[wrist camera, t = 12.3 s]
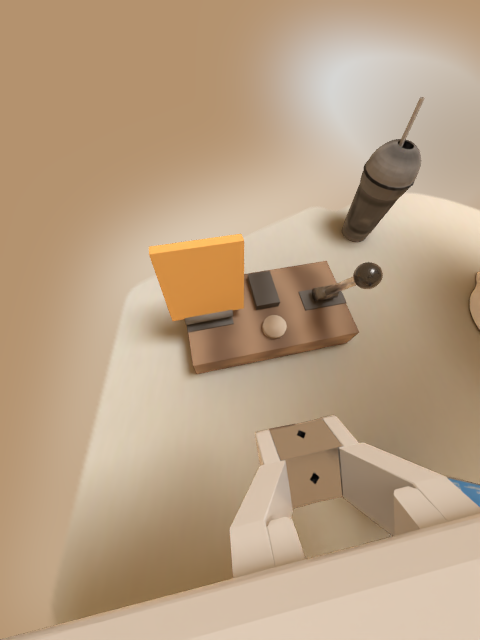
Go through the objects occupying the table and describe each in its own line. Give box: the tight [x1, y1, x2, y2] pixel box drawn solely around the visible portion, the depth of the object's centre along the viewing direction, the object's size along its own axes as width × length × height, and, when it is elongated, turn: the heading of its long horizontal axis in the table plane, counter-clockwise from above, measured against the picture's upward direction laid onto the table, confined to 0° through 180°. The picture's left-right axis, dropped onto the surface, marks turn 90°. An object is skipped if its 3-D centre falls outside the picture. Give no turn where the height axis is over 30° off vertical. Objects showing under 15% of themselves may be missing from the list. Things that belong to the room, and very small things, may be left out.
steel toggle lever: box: [312, 262, 383, 301], centre depth 30 cm, size 3×3×12 cm
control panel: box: [187, 261, 359, 374], centre depth 36 cm, size 22×12×5 cm, turn 103°
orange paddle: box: [149, 234, 244, 325], centre depth 29 cm, size 9×2×11 cm, turn 103°
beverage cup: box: [342, 97, 424, 242], centre depth 38 cm, size 7×7×20 cm
